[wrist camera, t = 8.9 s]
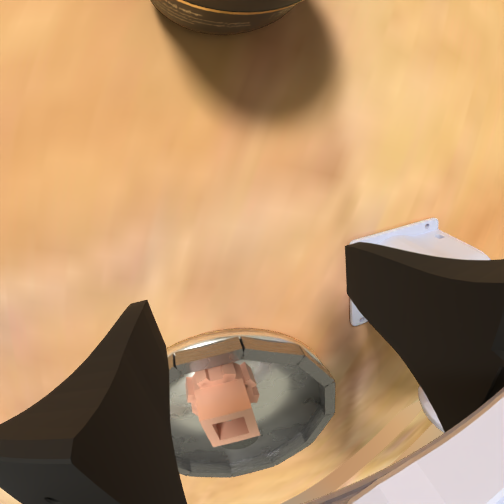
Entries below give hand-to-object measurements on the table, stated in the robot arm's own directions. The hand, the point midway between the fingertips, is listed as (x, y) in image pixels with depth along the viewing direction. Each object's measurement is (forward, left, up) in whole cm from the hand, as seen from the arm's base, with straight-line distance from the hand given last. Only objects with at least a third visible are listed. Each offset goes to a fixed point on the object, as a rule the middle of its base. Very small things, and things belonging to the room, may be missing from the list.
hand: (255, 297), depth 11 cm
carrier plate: (+3, +18, -10) cm, 21 cm away
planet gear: (+3, +13, -9) cm, 16 cm away
